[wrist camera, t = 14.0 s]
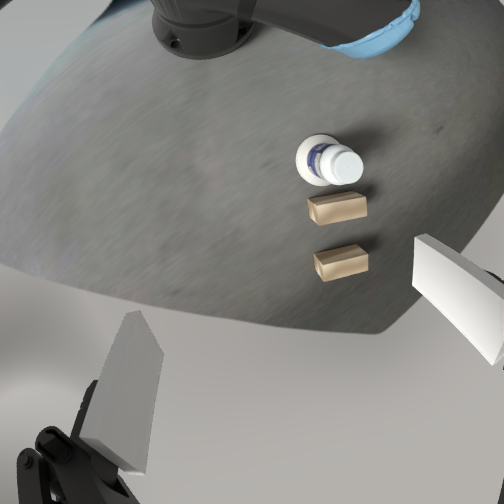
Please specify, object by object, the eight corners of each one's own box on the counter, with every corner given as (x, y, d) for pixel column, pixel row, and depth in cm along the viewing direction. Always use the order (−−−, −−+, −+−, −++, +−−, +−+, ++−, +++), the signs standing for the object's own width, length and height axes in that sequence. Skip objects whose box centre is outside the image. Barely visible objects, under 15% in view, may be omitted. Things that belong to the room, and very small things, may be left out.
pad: (291, 138, 38) (292, 138, 37) (340, 132, 38) (342, 132, 38) (299, 189, 41) (300, 189, 41) (346, 181, 41) (348, 182, 41)
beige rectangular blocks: (307, 199, 42) (316, 205, 38) (353, 191, 42) (366, 196, 38) (315, 269, 47) (323, 281, 43) (356, 259, 47) (367, 270, 43)
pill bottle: (337, 143, 38) (368, 146, 29) (337, 177, 40) (367, 189, 31) (304, 142, 38) (328, 144, 29) (305, 177, 40) (328, 189, 31)
